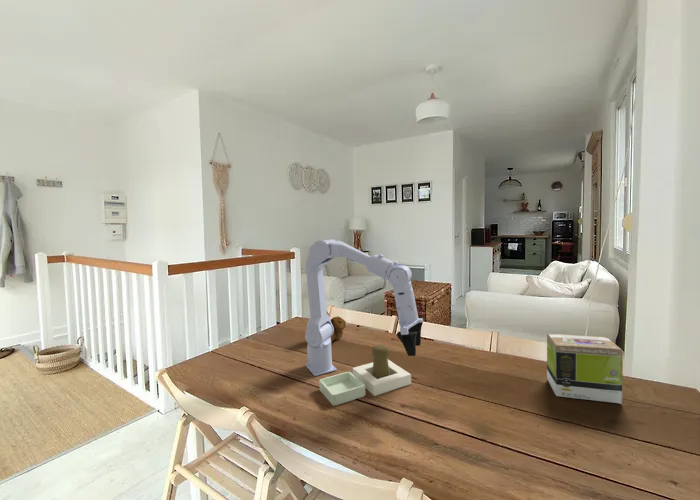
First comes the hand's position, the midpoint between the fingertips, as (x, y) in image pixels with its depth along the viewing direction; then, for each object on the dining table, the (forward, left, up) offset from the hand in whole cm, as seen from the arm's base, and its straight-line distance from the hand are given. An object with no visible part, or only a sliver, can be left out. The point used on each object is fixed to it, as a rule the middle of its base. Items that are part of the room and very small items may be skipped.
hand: (414, 350), depth 96 cm
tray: (-7, -21, -11) cm, 24 cm away
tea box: (+27, +37, -11) cm, 47 cm away
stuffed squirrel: (-47, -7, -11) cm, 49 cm away
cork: (-7, -7, -11) cm, 15 cm away
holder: (-7, -7, -11) cm, 15 cm away
